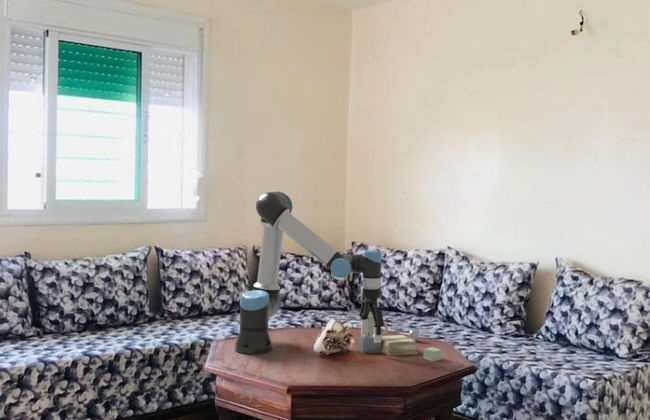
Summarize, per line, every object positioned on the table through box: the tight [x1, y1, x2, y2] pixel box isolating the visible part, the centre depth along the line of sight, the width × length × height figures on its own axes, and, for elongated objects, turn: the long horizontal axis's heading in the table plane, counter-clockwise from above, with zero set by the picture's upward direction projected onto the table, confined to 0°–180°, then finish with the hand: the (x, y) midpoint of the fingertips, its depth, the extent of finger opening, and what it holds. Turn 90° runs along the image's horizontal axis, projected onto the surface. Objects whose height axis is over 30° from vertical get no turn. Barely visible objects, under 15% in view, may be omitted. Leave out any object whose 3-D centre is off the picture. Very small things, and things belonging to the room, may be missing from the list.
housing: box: [357, 334, 382, 354], centre depth 273 cm, size 5×8×7 cm, turn 110°
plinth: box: [380, 334, 419, 357], centre depth 275 cm, size 14×14×5 cm
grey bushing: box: [408, 328, 420, 343], centre depth 292 cm, size 4×4×5 cm
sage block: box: [423, 347, 442, 362], centre depth 264 cm, size 5×5×4 cm
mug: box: [360, 315, 389, 336], centre depth 294 cm, size 8×13×10 cm, turn 107°
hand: (370, 338), depth 273 cm, fingers open, 13 cm apart
